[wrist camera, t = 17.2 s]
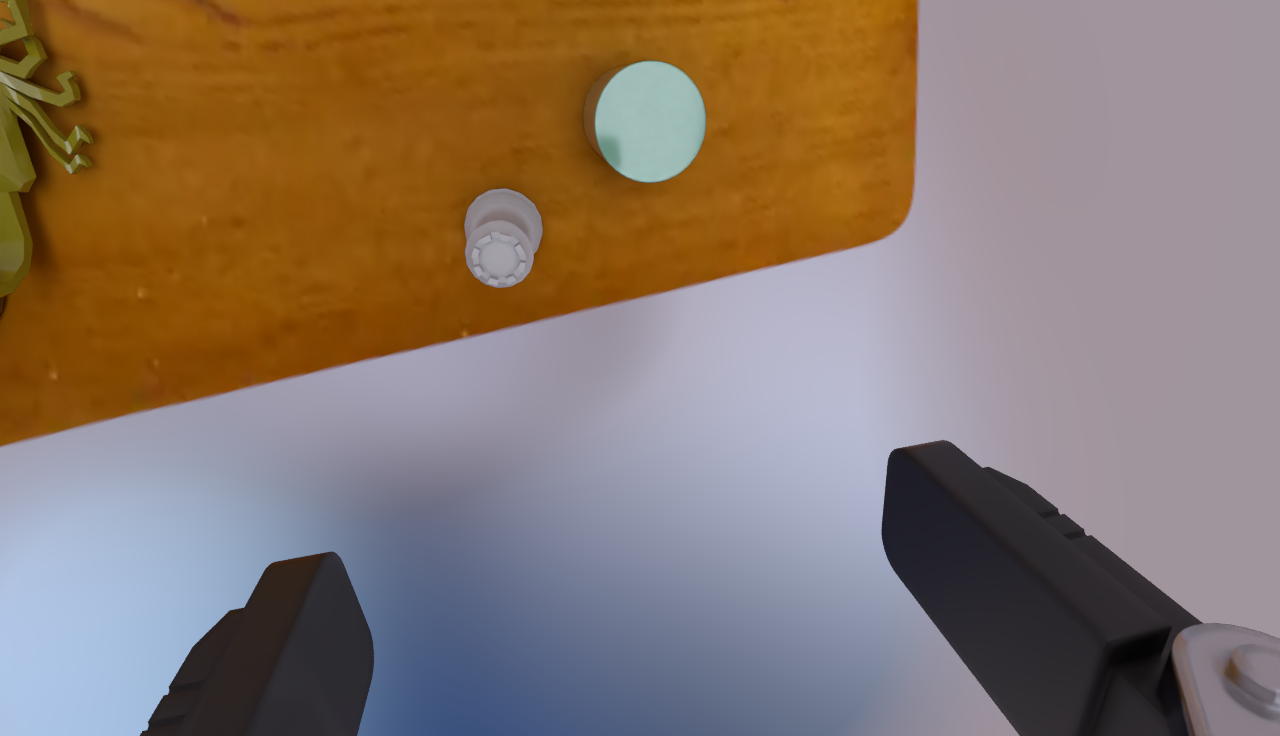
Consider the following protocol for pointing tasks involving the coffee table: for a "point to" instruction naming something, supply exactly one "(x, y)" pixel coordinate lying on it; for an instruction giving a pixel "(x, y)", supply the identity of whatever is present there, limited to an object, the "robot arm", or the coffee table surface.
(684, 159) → the mint green cylinder
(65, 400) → the coffee table surface
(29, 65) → the scorpion
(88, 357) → the coffee table surface
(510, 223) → the rook chess piece
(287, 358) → the coffee table surface
